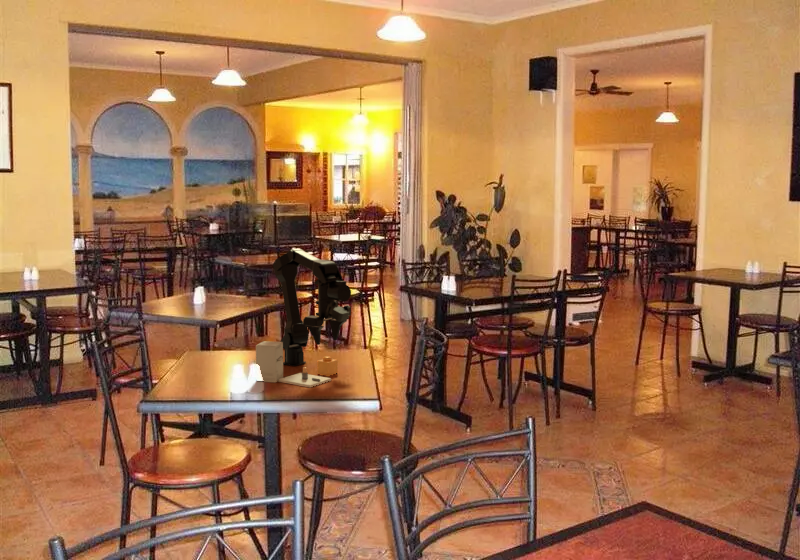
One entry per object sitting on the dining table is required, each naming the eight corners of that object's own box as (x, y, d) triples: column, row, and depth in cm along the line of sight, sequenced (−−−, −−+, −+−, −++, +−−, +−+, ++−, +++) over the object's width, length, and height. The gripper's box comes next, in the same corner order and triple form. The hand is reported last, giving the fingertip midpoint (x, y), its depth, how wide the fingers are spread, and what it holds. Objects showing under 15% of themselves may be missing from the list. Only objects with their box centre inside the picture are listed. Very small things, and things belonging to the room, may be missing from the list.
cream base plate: (278, 381, 278) (278, 368, 278) (300, 374, 287) (299, 362, 287) (310, 387, 270) (310, 373, 270) (331, 380, 279) (331, 367, 279)
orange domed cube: (317, 374, 288) (317, 357, 287) (326, 371, 292) (326, 355, 291) (328, 376, 285) (328, 359, 284) (337, 373, 289) (337, 356, 289)
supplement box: (276, 382, 277) (275, 345, 275) (255, 381, 278) (254, 344, 277) (284, 377, 284) (283, 341, 282) (263, 376, 285) (263, 340, 284)
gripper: (327, 303, 273) (327, 350, 275) (361, 296, 288) (361, 340, 290) (301, 300, 279) (302, 346, 281) (336, 294, 295) (336, 337, 297)
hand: (326, 342), depth 287 cm, fingers open, 9 cm apart
